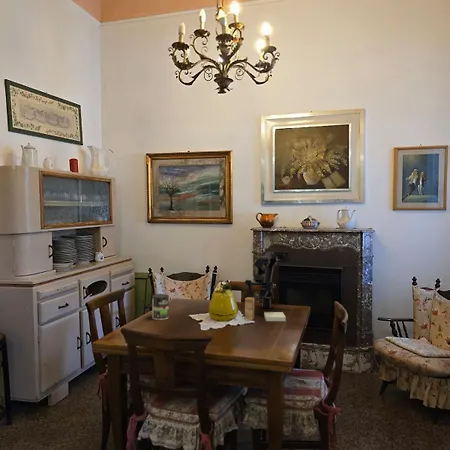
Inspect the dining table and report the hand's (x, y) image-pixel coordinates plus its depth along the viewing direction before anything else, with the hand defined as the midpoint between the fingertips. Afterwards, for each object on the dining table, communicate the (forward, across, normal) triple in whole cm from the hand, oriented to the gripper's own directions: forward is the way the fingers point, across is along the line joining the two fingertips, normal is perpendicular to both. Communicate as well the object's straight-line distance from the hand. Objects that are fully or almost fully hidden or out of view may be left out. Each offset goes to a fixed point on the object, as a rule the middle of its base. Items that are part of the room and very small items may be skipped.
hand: (257, 296), depth 276 cm
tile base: (+11, +12, +6) cm, 17 cm away
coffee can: (+25, -56, -14) cm, 63 cm away
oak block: (+15, -3, +1) cm, 15 cm away
